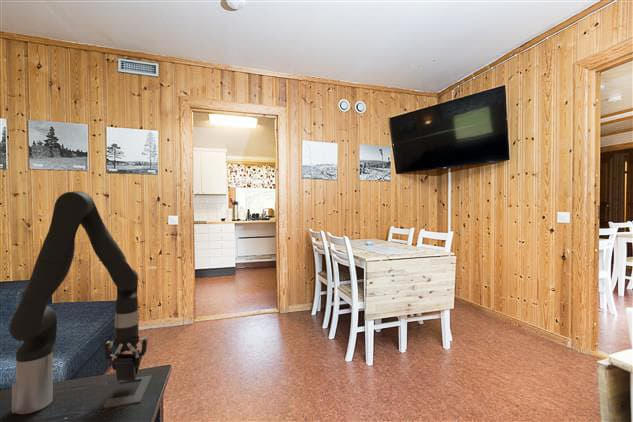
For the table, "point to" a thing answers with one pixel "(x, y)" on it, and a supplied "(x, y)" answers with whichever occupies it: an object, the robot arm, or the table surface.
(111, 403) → the bracket
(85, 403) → the table surface
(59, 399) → the table surface
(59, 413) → the table surface
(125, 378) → the phone stand
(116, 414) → the table surface
